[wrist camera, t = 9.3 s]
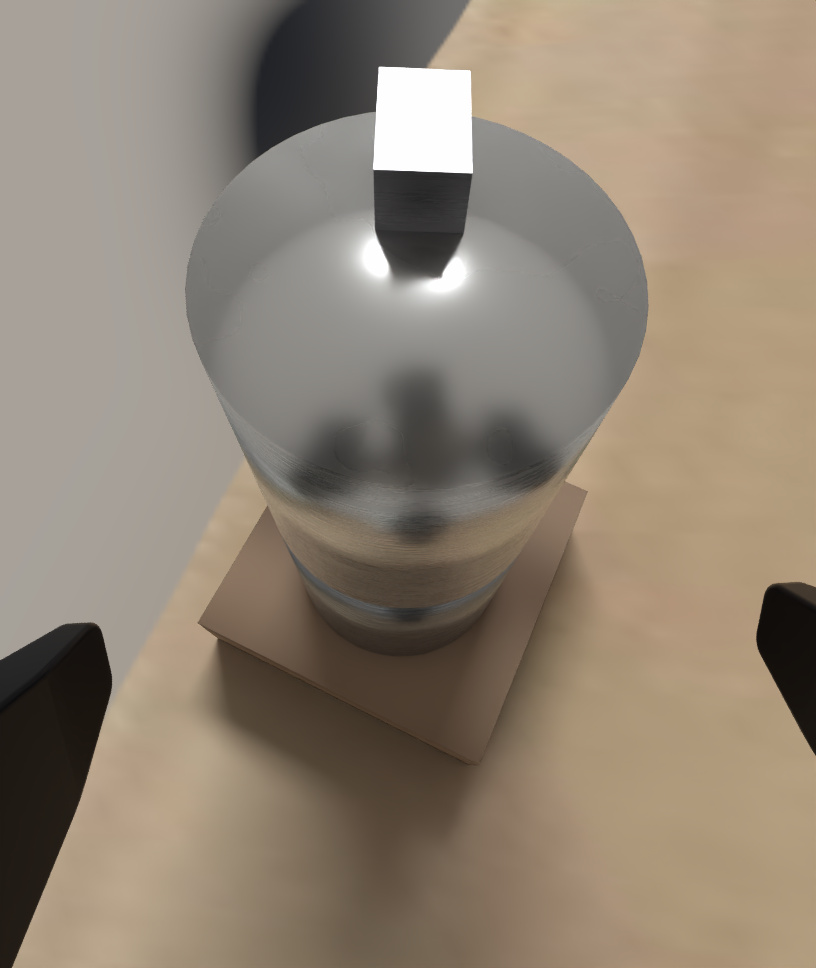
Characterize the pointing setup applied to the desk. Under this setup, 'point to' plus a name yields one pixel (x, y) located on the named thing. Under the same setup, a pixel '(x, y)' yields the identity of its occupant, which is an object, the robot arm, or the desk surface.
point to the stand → (391, 679)
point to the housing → (413, 348)
